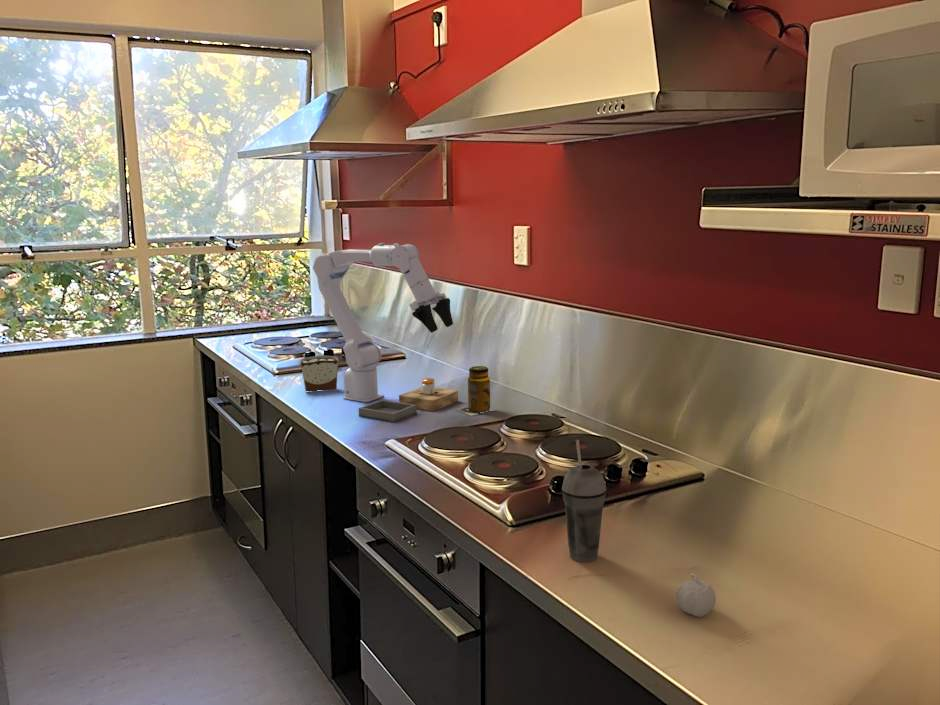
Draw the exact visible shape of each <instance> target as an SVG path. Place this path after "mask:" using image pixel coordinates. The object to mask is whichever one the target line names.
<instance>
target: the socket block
mask: <svg viewBox="0 0 940 705" xmlns="http://www.w3.org/2000/svg"><path fill="white" fill-rule="evenodd" d="M434 388H435V394H434V395H431V396H428V395H423V388H422V386H421V387H419V388H416V389H413V390H411V391H408V392H405V393H402V394H399V395H398V400H399V402H400V403H406V404H413V405H416V408H417V410H418V409H419V410H425V411H431V412H435V411H438V410H441V409H443V408H446V407H448V406H450V405H452V404H455V403H457V402H459V391H458V390H452V389H445V388H440V387H439V388H438V387H434ZM456 401H457V402H456ZM454 402H455V403H454ZM449 404H450V405H449ZM447 405H448V406H447Z"/></svg>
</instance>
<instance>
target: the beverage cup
mask: <svg viewBox="0 0 940 705" xmlns="http://www.w3.org/2000/svg"><path fill="white" fill-rule="evenodd" d="M575 443H576V444H575V445H576V452H577V453H576V454H577V462H578V465H575V466H574V467H572V468H571V469H569V470H568V472H566V474H565V476H564V478H563V482H562V486H561V492H562V498H563V502H564V510H565V520H566V532H567V544H568V550H569V557H570V559H571V560H573V561H576V562H577V563H591V562H594V561H596V560H598V553H599V548H600V541H601V540H600V539H601V528H602V519H603V508H604V504H605V500H606V495H607V490H608V489H607V487H606V481H605V478H604V476H603V475H602V473H601V472H600V470H598V469H597V468H596V467H594V466H593V465H591V464H590V465H589V464H582V456H581V448H580V440H579V439H576V440H575Z"/></svg>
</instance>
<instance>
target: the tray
mask: <svg viewBox="0 0 940 705" xmlns="http://www.w3.org/2000/svg"><path fill="white" fill-rule="evenodd" d="M417 410H418V409H417V408H416V405H413V404H406V403H400V402H398V401H394V400H393V401H392V400H387V399H386V400H385V399H381V400H380V399H379V400H377V401H374V402H372V403H369V404H366V405H364V406H361V407H358V417H360V416H361V417H360V418H365V417H366V418H365V419H373V420H376V421H377V420H378V421H384V422H389V423H396V422H398V421H401V420H404V419H406V418H408V417H410V416H413V415H416V414H417V413H418V412H417Z"/></svg>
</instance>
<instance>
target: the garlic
mask: <svg viewBox="0 0 940 705" xmlns="http://www.w3.org/2000/svg"><path fill="white" fill-rule="evenodd" d="M689 576H690V577H691V578H693V579H688V580H685V581H684V582H682V583H681V584H679V586H678V588H677V589H676V591H675V596H676V597H675V598H676V601H677V602H678V607H679V609H681V610H682V611H683V612H684V613H686V614H689V615H691V616H694V617H697V618H701V617H704V616H705V615H707V614H708V613H709V612H710V611H712V610H713V609H714V608H715V606H716V602H717V600H716V598H717V596H716V593H715V590H714V589H713V588H712V585H710V583H708V582H707V581H705V580H703V579H699V576H698V575H697V574H695V573H693V572H692V573H690V575H689Z"/></svg>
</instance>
